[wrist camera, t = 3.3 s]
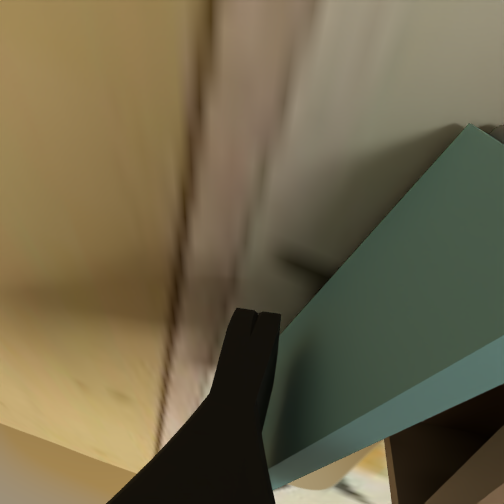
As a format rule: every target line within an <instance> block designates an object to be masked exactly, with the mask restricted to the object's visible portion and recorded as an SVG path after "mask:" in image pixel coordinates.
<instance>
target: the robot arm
mask: <svg viewBox="0 0 504 504" xmlns="http://www.w3.org/2000/svg"><path fill="white" fill-rule="evenodd" d="M280 320H281V314H276V313H269V312H261V313H259V314H258V313H257V312H256V311H255V310H249V309H242V308H236V310H235V312H234V314H233V316H232V318H231V320H230V323H229V325H228V328H227V331H226V335H225V339H224V342H223V346H222V350H221V354H220V357H219V361H218V365H217V369H216V372H215V376H214V380H213V384H212V387H211V390H210V393H209V395H208V396H207V397H206V398H205V400H204V401H203V402H202V403H201V405H200V406H199V407H198V408H197V410H196V411H195V412H194V413H193V414H192V416H191V417H190V418H189V419H188V420H187V422H186V423H185V424H184V425H183V426H182V427H181V428H180V429H179V431H178V432H177V433H176V434H175V435H174V436H173V437H172V438H171V439H170V440H169V442H168V443H167V444H166V445H165V446H164V447H163V448H162V449H161V450H160V451H159V452H158V453H157V454H156V455H155V456H154V458H153V459H152V460H151V461H150V462H149V463H148V464H147V465H146V466H144V467H143V468H142V469H141V470H140V471H139V472H138V473H137V474H136V476H134V477H133V478H132V479H131V480H130V481H129V482H128V483H127V484H126V485H125V486H124V487H123V488H122V489H121V490H120V491H119V492H118V493H117V494H116V495H115V496H114V497H113V498H112V499H111V500H110V501H108V502H107V503H106V504H275V499H274V495H273V490H272V485H271V480H270V476H269V471H268V466H267V461H266V455H265V450H264V444H263V438H262V430H263V426H264V422H265V418H266V414H267V410H268V405H269V401H270V397H271V393H272V389H273V384H274V378H275V371H276V363H277V356H278V346H279V333H280Z"/></svg>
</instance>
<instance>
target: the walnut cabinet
mask: <svg viewBox="0 0 504 504" xmlns="http://www.w3.org/2000/svg"><path fill="white" fill-rule="evenodd" d="M384 443H385V451H386V460H387V468H388V476H389V484H390V492H391V500H392V504H504V383H503V384H501V385H499V386H497V387H495V388H493V389H490V390H488V391H486V392H484V393H482V394H480V395H478V396H475V397H473V398H471V399H469V400H467V401H465V402H462V403H460V404H458V405H456V406H454V407H452V408H449V409H447V410H445V411H443V412H441V413H439V414H437V415H434V416H432V417H430V418H428V419H426V420H424V421H421V422H419V423H417V424H415V425H413V426H411V427H408V428H406V429H404V430H402V431H400V432H398V433H396V434H393V435H391V436H389V437H387V438H385V439H384Z"/></svg>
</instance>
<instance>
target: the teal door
mask: <svg viewBox="0 0 504 504" xmlns="http://www.w3.org/2000/svg"><path fill="white" fill-rule="evenodd" d="M503 383H504V125H500V126H498V127H496V128H495V129H494V130H493V131H492V132H491V133H490V135H489V134H487V133H486V132H484V131H482V130H481V129H479V128H477V127H475V126H474V125H472V124H470V123H469V124H468V125H467V126H466V128H465V129H464V130H463V131H462V132H461V133H460V134H459V135H458V136H457V138H456V139H455V140H454V141H453V142H452V143H451V144H450V145H449V147H448V148H447V149H446V150H445V151H444V152H443V153H442V154H441V155H440V157H439V158H438V159H437V160H436V161H435V162H434V163H433V164H432V166H431V167H430V168H429V169H428V170H427V171H426V172H425V173H424V174H423V176H422V177H421V178H420V179H419V180H418V181H417V182H416V183H415V185H414V186H413V187H412V188H411V189H410V190H409V191H408V192H407V193H406V195H405V196H404V197H403V198H402V199H401V200H400V201H399V202H398V204H397V205H396V206H395V207H394V208H393V209H392V210H391V211H390V212H389V214H388V215H387V216H386V217H385V218H384V219H383V220H382V221H381V223H380V224H379V225H378V226H377V227H376V228H375V229H374V230H373V231H372V233H371V234H370V235H369V236H368V237H367V238H366V239H365V240H364V242H363V243H362V244H361V245H360V246H359V247H358V248H357V249H356V250H355V252H354V253H353V254H352V255H351V256H350V257H349V258H348V259H347V261H346V262H345V263H344V264H343V265H342V266H341V267H340V268H339V269H338V271H337V272H336V273H335V274H334V275H333V276H332V277H331V278H330V280H329V281H328V282H327V283H326V284H325V285H324V286H323V287H322V288H321V290H320V291H319V292H318V293H317V294H316V295H315V296H314V297H313V299H312V300H311V301H310V302H309V303H308V304H307V305H306V306H305V307H304V309H303V310H302V311H301V312H300V313H299V314H298V315H297V316H296V318H295V319H294V320H293V321H292V322H291V323H290V324H289V325H288V326H287V328H286V329H285V330H284V331H283V332H282V333H281V334H280V335H279V346H278V356H277V363H276V371H275V378H274V384H273V389H272V393H271V397H270V401H269V405H268V410H267V414H266V418H265V422H264V426H263V430H262V438H263V444H264V450H265V455H266V461H267V466H268V471H269V476H270V480H271V485H272V490H275V489H277V488H279V487H281V486H283V485H286V484H288V483H290V482H292V481H294V480H296V479H298V478H301V477H303V476H305V475H307V474H309V473H311V472H314V471H316V470H318V469H320V468H322V467H324V466H327V465H329V464H331V463H333V462H335V461H337V460H339V459H342V458H344V457H346V456H348V455H350V454H352V453H355V452H356V451H359V450H361V449H363V448H365V447H367V446H370V445H372V444H374V443H376V442H378V441H380V440H383V439H385V438H387V437H389V436H391V435H393V434H396V433H398V432H400V431H402V430H404V429H406V428H408V427H411V426H413V425H415V424H417V423H419V422H421V421H424V420H426V419H428V418H430V417H432V416H434V415H437V414H439V413H441V412H443V411H445V410H447V409H449V408H452V407H454V406H456V405H458V404H460V403H462V402H465V401H467V400H469V399H471V398H473V397H475V396H478V395H480V394H482V393H484V392H486V391H488V390H490V389H493V388H495V387H497V386H499V385H501V384H503Z"/></svg>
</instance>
